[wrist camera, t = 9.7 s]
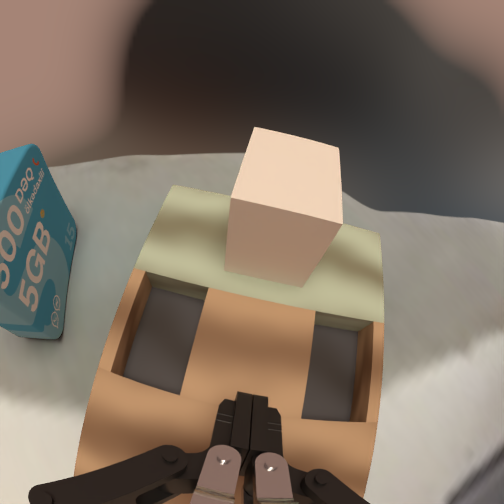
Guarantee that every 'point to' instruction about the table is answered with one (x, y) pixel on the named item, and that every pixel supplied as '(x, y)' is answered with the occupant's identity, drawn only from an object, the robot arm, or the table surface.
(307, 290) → the board
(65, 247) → the data package
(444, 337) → the table surface
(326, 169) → the block
